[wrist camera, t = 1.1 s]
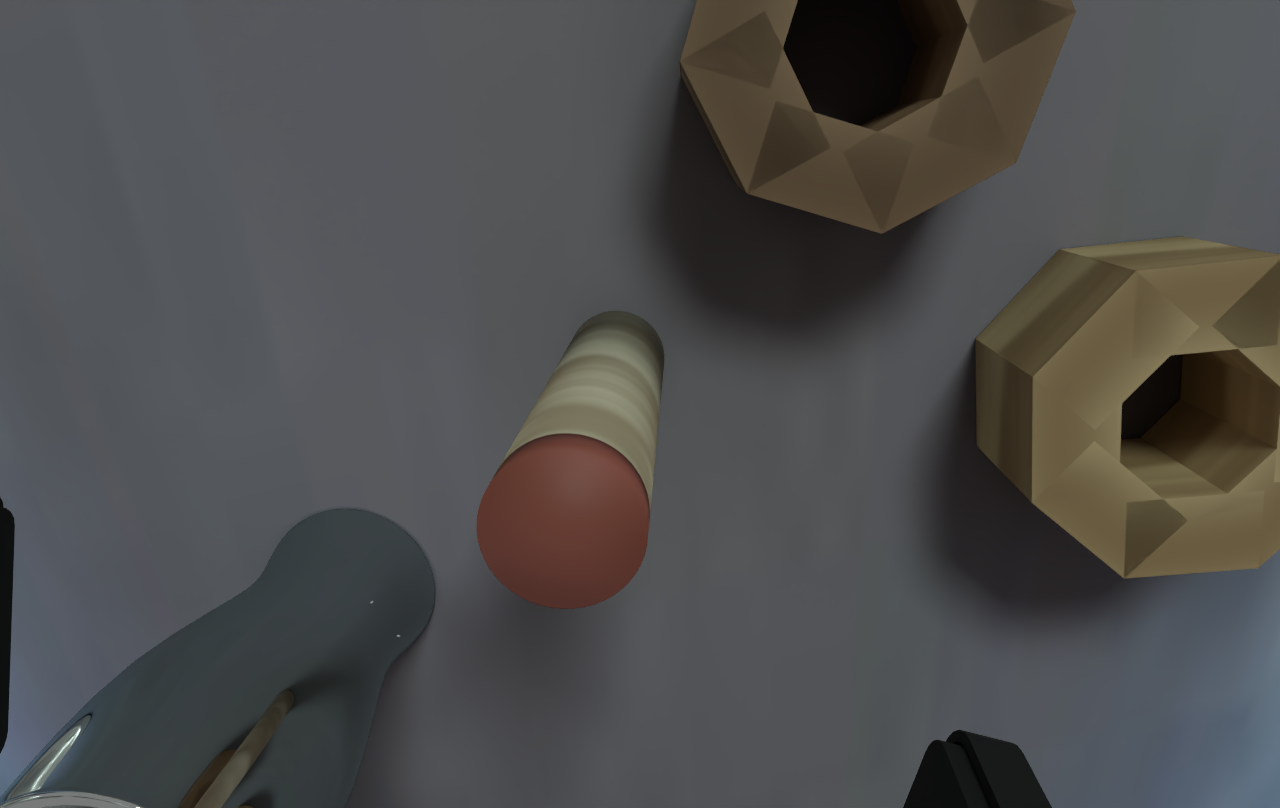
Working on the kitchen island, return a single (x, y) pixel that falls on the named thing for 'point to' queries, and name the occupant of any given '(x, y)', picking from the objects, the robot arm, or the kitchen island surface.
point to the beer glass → (252, 685)
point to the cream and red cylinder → (580, 471)
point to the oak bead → (1111, 371)
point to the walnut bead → (892, 141)
